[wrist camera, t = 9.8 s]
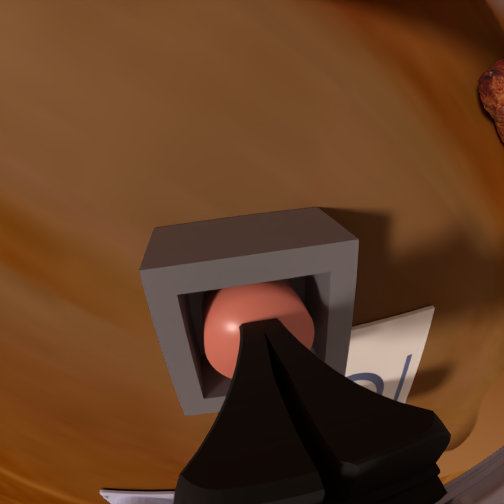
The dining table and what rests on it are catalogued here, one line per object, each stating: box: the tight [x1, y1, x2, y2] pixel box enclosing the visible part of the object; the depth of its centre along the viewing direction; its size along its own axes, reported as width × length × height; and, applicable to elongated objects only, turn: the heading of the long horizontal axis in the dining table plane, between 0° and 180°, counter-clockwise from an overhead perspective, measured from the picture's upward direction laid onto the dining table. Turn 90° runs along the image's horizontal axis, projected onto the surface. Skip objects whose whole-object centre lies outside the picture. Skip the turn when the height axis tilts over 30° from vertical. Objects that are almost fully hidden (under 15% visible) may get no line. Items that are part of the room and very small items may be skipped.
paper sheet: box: [345, 305, 435, 403], centre depth 19 cm, size 13×11×1 cm
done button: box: [202, 279, 315, 379], centre depth 12 cm, size 4×4×2 cm
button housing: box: [139, 207, 359, 416], centre depth 13 cm, size 7×7×4 cm
